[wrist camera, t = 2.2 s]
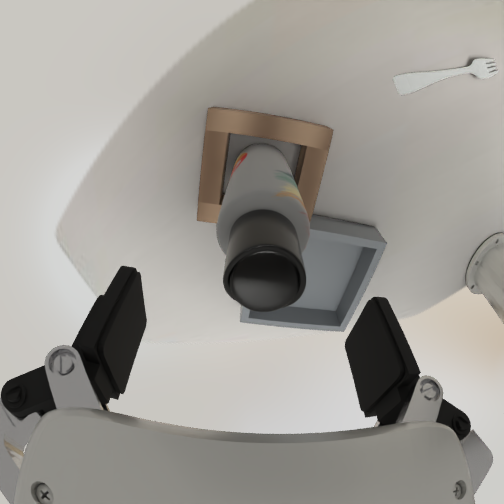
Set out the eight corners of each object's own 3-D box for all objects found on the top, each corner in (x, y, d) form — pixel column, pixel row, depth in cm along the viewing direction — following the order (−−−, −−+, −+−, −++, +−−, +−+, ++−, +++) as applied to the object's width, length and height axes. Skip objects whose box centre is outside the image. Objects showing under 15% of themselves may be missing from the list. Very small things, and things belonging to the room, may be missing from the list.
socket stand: (326, 126, 26) (333, 130, 24) (302, 224, 33) (305, 236, 30) (213, 106, 25) (208, 108, 23) (201, 209, 32) (196, 220, 29)
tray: (375, 226, 32) (387, 243, 29) (338, 312, 40) (343, 331, 37) (258, 205, 31) (258, 220, 28) (241, 301, 39) (239, 322, 36)
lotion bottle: (228, 182, 30) (190, 314, 13) (244, 135, 27) (219, 213, 10) (276, 198, 31) (296, 340, 14) (295, 152, 28) (351, 255, 11)
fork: (380, 75, 25) (388, 76, 22) (494, 55, 17) (505, 56, 15) (389, 96, 26) (397, 98, 24) (499, 73, 19) (511, 75, 16)
